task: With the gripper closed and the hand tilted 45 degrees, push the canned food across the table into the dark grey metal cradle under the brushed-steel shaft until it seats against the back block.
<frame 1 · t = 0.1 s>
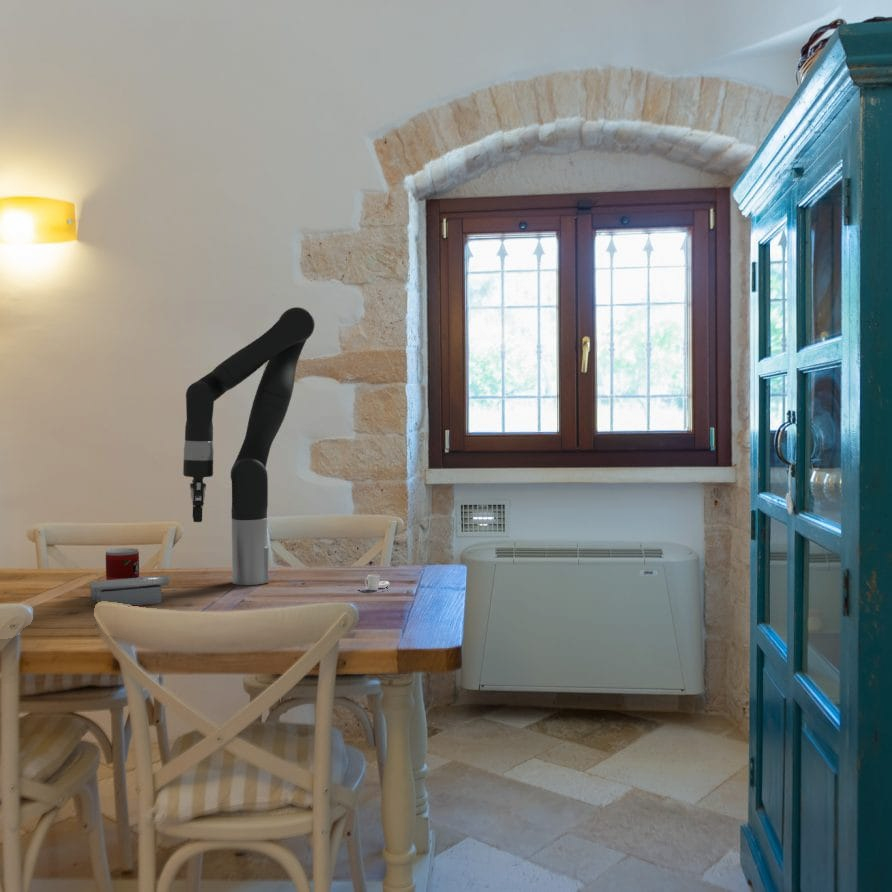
hand: (197, 520, 232), 17 cm above the table, tool pointing down, fingers open, 8 cm apart
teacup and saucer: (385, 592, 226), on the table
cradle: (128, 601, 214), on the table
canned food: (123, 594, 222), on the table
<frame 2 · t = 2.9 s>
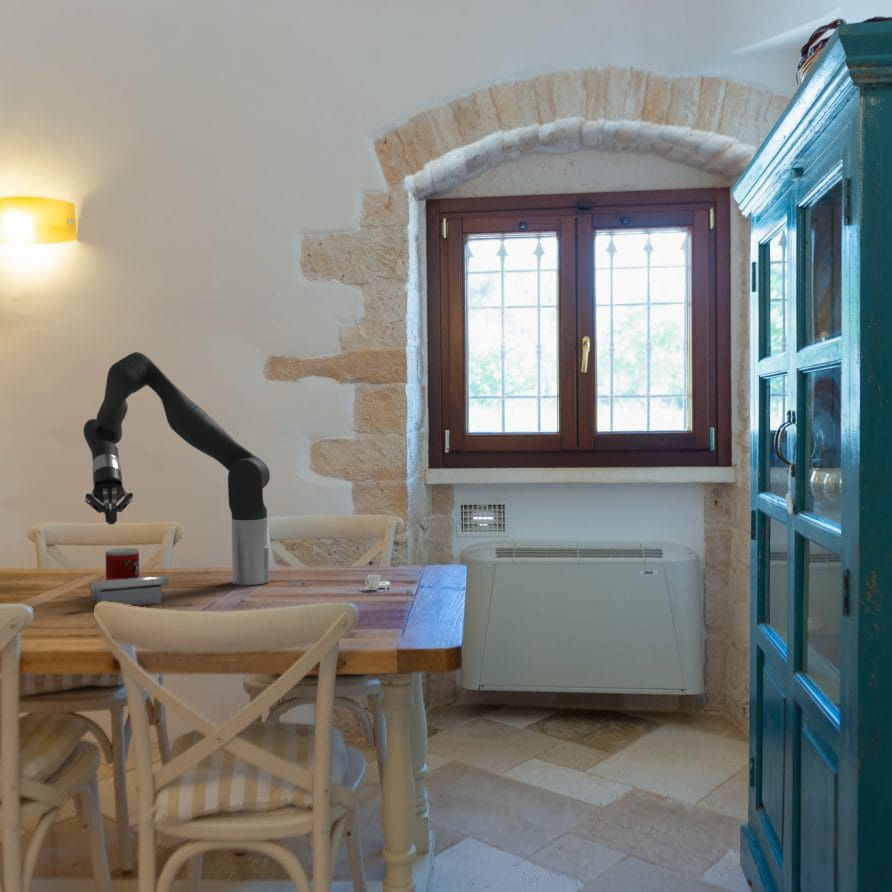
hand: (111, 522, 240), 16 cm above the table, tool tilted 45°, fingers closed
nothing on the table moved.
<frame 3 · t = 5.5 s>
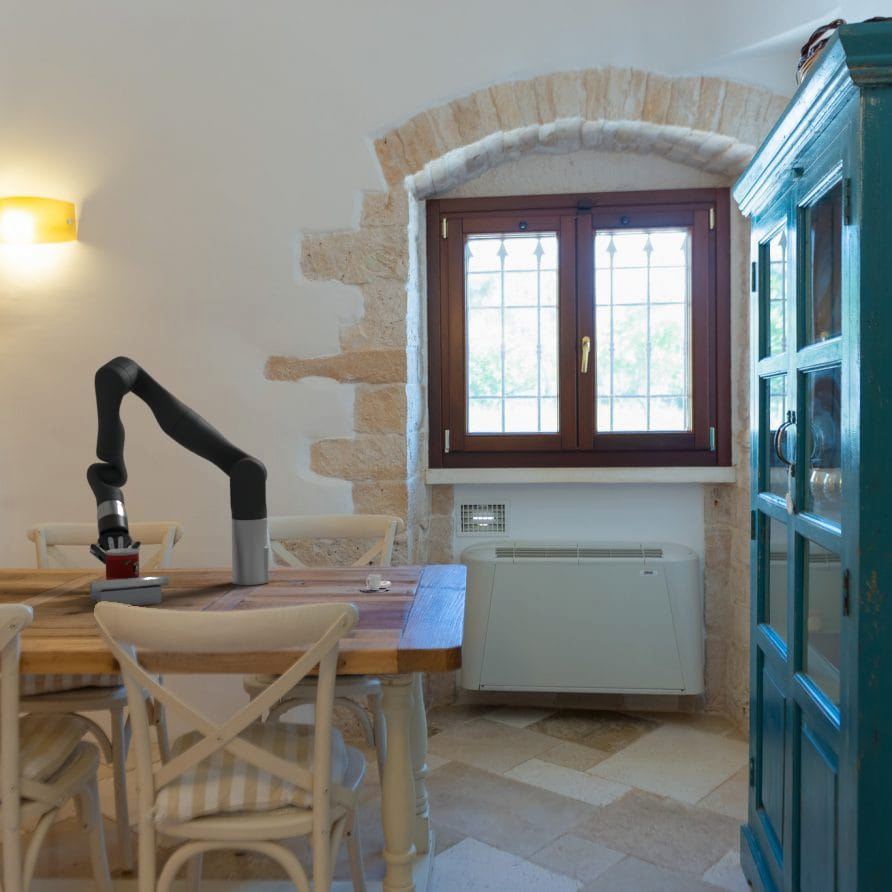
hand: (118, 574, 226), 4 cm above the table, tool tilted 45°, fingers closed
canned food: (123, 594, 222), on the table, touching gripper
everything else where it was.
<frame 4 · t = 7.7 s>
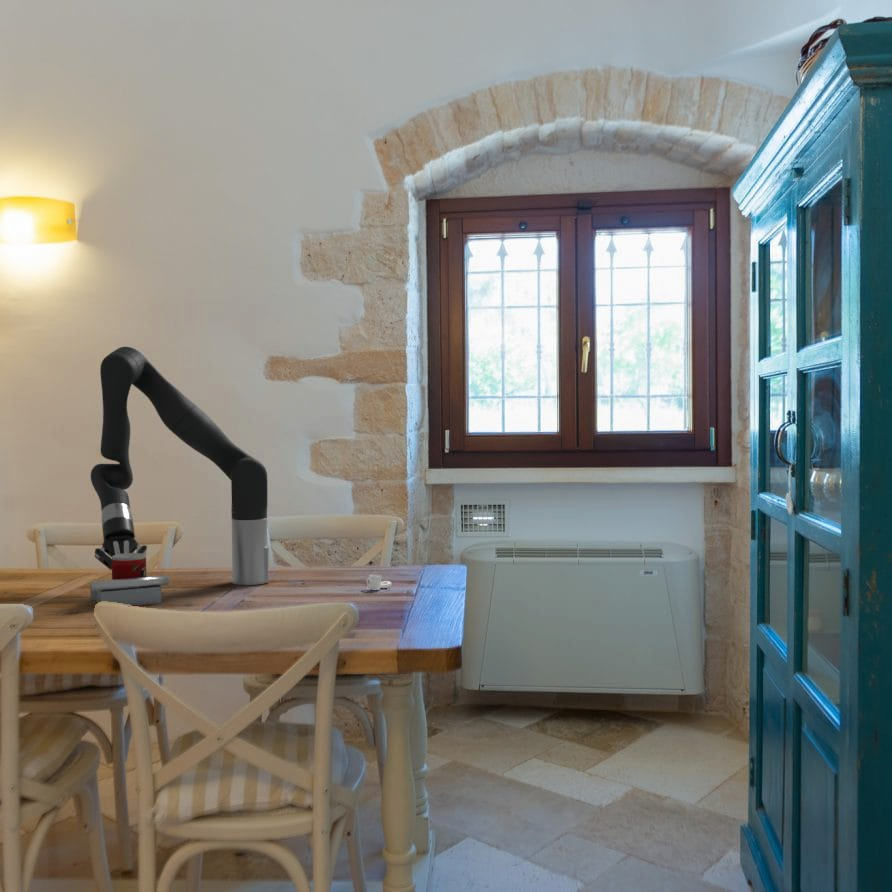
hand: (124, 580, 218), 4 cm above the table, tool tilted 45°, fingers closed
canned food: (129, 601, 215), on the table, touching gripper
everything else where it was.
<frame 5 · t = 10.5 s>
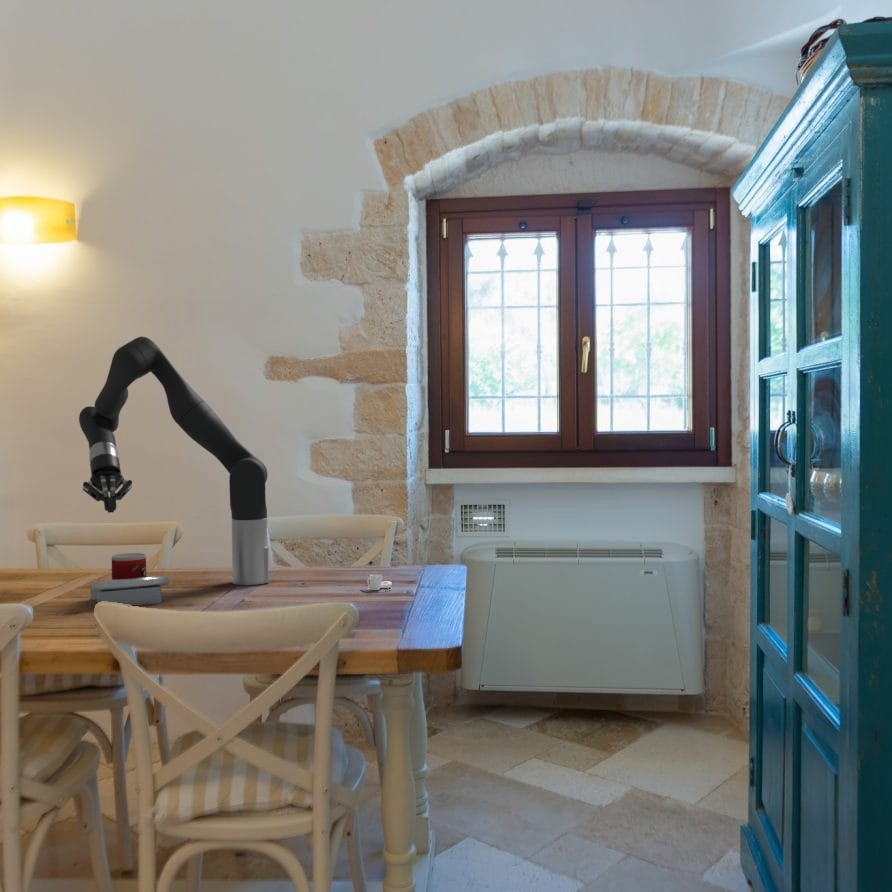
hand: (110, 510, 232), 20 cm above the table, tool tilted 45°, fingers closed
canned food: (129, 601, 215), on the table
everything else where it was.
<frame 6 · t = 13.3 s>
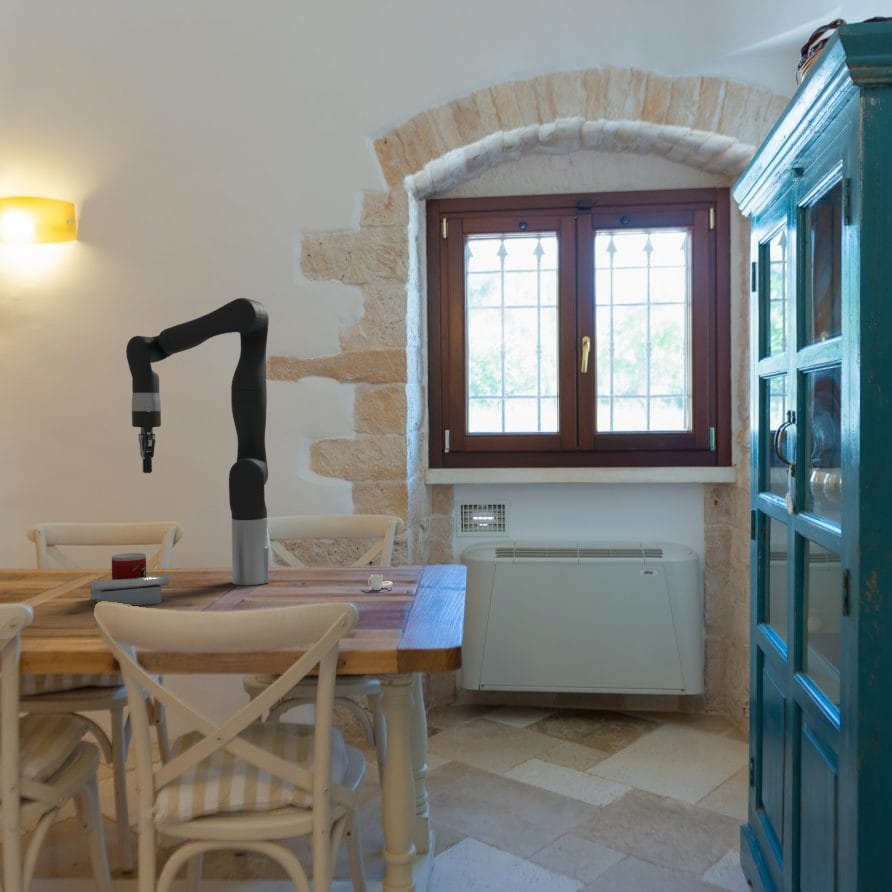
hand: (147, 472, 243), 29 cm above the table, tool pointing down, fingers closed
nothing on the table moved.
at the end: canned food 0.9 cm from the cradle (horizontally); canned food tilted 0°; canned food moved 9.1 cm from its start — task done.
